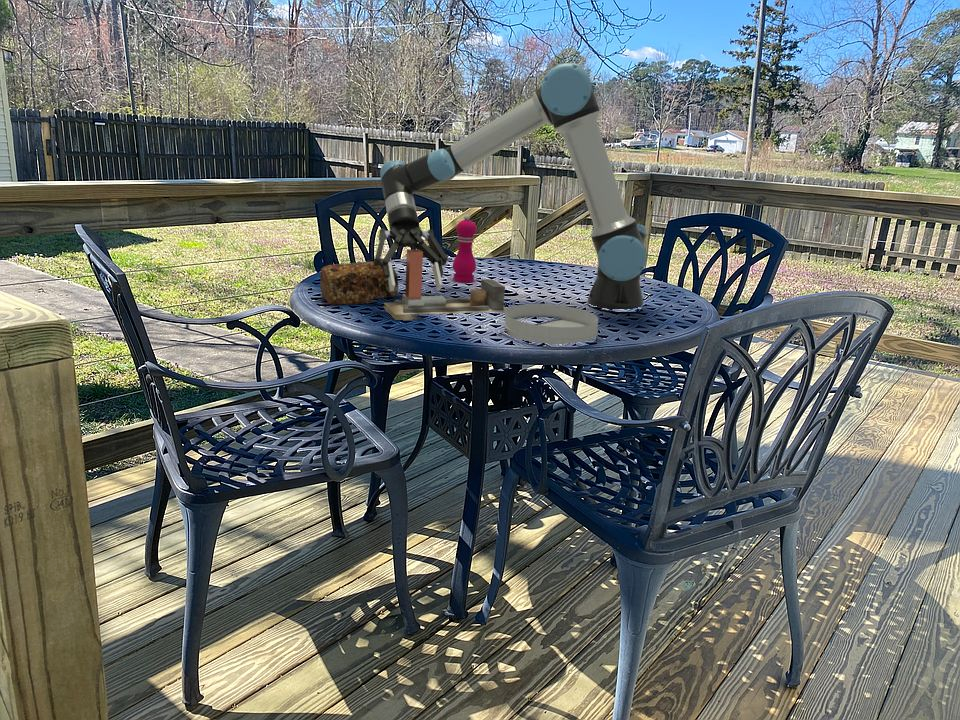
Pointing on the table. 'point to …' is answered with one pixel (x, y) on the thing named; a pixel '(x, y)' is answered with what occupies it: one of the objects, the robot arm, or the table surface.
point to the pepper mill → (465, 252)
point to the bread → (355, 283)
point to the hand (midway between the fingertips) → (416, 287)
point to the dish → (551, 324)
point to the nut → (478, 297)
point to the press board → (454, 304)
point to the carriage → (417, 284)
